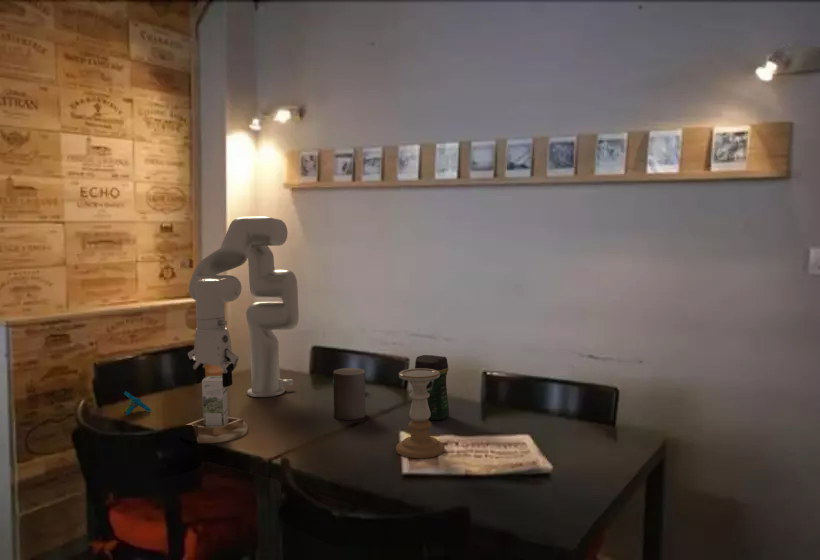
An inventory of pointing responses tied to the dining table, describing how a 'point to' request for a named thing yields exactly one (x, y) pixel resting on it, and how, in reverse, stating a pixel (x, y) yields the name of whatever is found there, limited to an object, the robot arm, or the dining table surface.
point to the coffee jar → (436, 385)
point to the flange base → (220, 431)
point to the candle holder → (419, 417)
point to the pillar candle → (349, 393)
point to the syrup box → (214, 402)
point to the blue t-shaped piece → (135, 403)
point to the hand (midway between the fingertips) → (214, 384)
